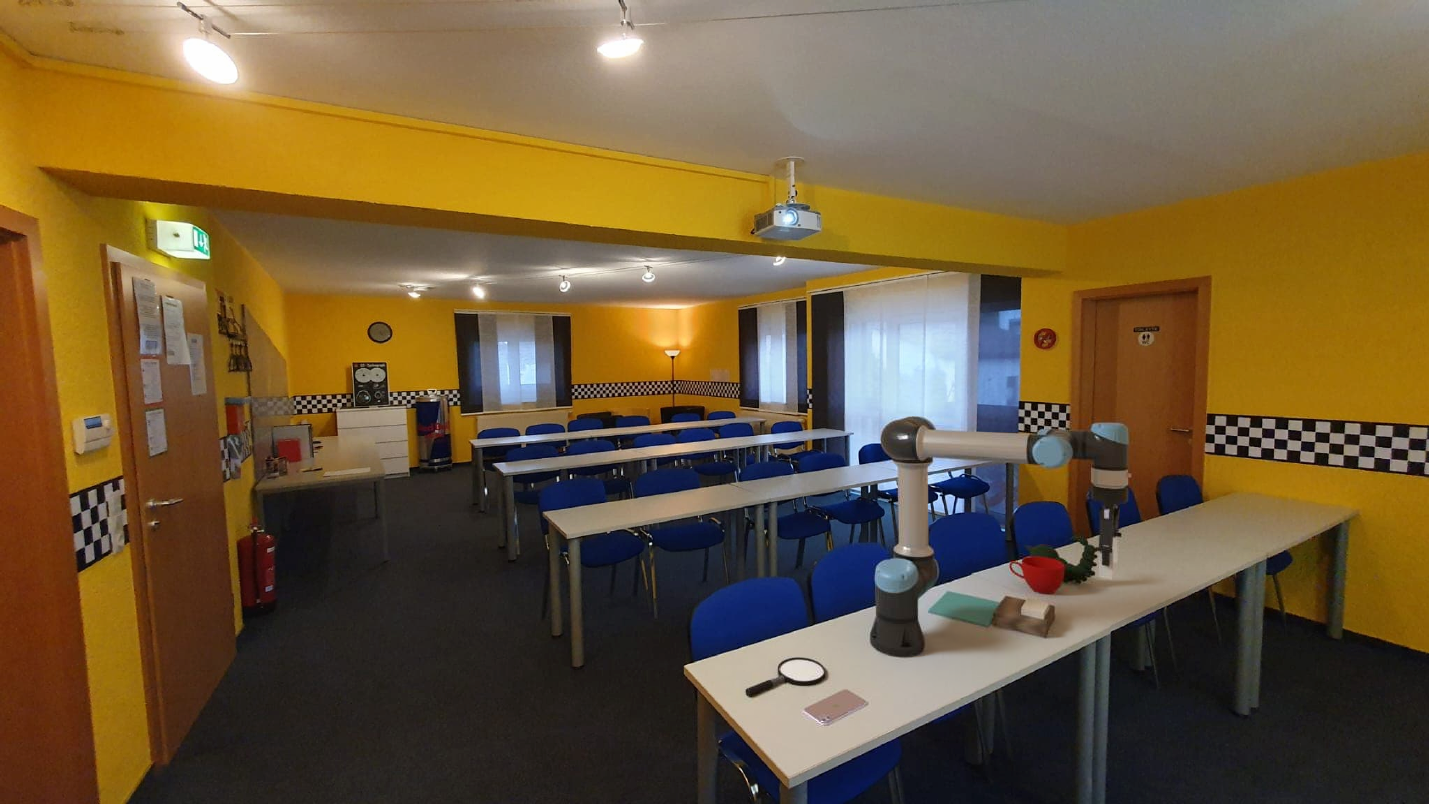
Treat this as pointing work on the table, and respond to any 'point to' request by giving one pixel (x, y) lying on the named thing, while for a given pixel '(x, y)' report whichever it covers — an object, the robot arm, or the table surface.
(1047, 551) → the toy figurine
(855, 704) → the mobile phone
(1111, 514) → the robot arm
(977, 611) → the mat
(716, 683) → the table surface
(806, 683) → the magnifying glass
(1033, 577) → the ceramic cup
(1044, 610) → the tile
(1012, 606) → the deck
